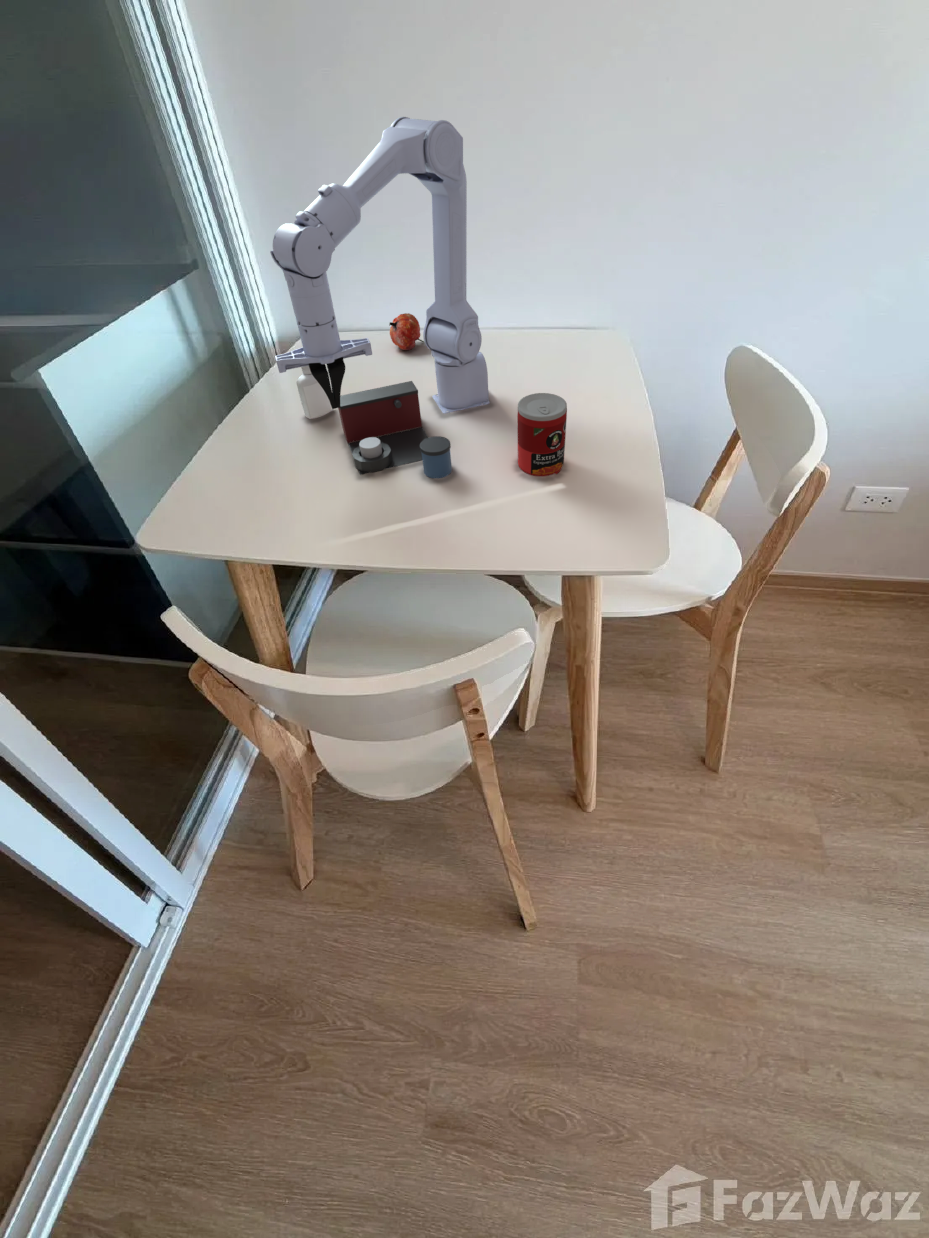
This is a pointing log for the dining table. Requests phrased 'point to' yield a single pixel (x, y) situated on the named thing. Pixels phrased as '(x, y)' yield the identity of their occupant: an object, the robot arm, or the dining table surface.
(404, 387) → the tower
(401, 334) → the pomegranate
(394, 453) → the dark grey drip tray
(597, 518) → the dining table surface
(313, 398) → the eye dropper bottle
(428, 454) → the container
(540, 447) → the canned food
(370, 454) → the power button
